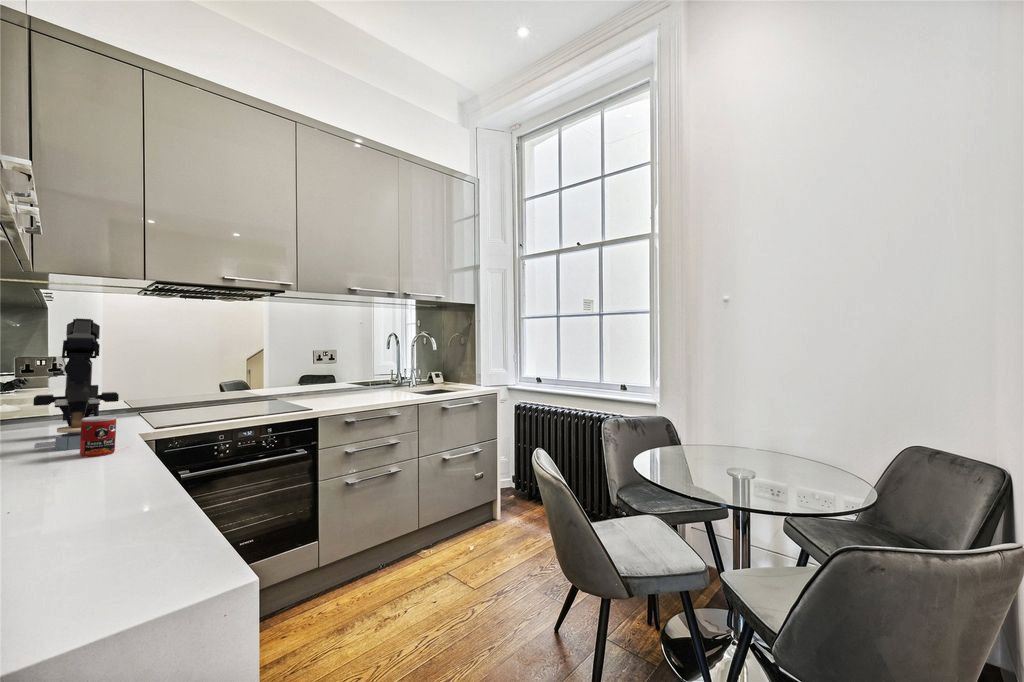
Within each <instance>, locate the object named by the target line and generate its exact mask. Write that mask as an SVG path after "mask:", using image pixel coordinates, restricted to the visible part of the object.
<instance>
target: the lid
mask: <svg viewBox="0 0 1024 682" xmlns="http://www.w3.org/2000/svg"><path fill="white" fill-rule="evenodd" d="M70 417H71V426H70V427H69V426H68V425H67V426H61V427H57V428H56V433H58V434H66V433H73V432H81V421H82V419H83V417H84V412H76V413H71V416H70Z"/></svg>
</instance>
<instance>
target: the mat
mask: <svg viewBox="0 0 1024 682" xmlns="http://www.w3.org/2000/svg"><path fill="white" fill-rule="evenodd" d="M48 447H49V448H50V447H55V441H54V440H53V441H41V442H36V443H35V445H34V449H39V448H48Z"/></svg>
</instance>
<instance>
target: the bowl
mask: <svg viewBox="0 0 1024 682" xmlns="http://www.w3.org/2000/svg"><path fill="white" fill-rule="evenodd" d="M80 439H81V432H76V433H60V434H56V435H55V446H54V450H55V451H73V450H80Z"/></svg>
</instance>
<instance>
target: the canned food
mask: <svg viewBox="0 0 1024 682" xmlns="http://www.w3.org/2000/svg"><path fill="white" fill-rule="evenodd" d="M116 435H117V416H115V415H99V416H95V417H87V418H83V419H82V421H81V439H80V449H79V455H80V457H82V458H96V457H97V458H99V457H103V456H108V455H112V454H114V452H115V451H116V439H117V438H116Z"/></svg>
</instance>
